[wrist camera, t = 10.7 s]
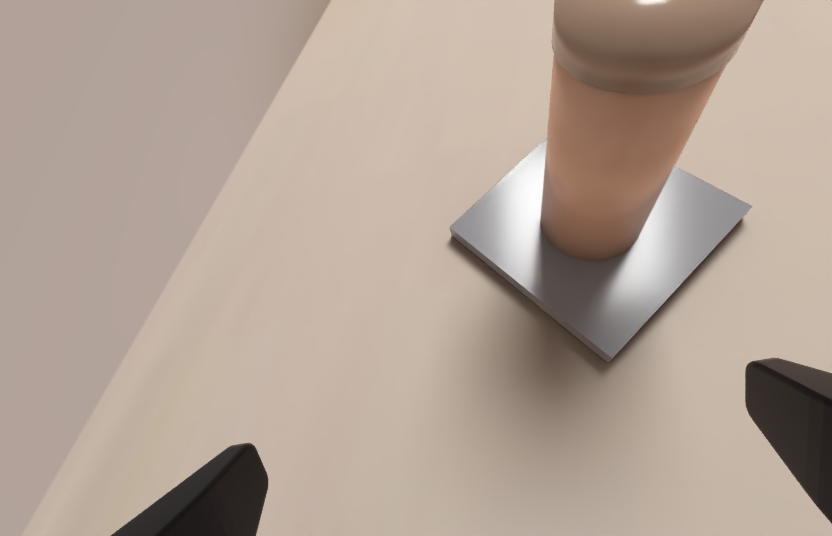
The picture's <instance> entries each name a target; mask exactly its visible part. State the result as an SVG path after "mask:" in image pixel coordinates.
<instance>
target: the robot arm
mask: <svg viewBox="0 0 832 536" xmlns="http://www.w3.org/2000/svg"><path fill="white" fill-rule="evenodd" d="M745 402H746V407H747V410H748V413H749V415H750V417H751V418H752V420H753V421H754V422H755V424H756V425H757V426H758V428H759V429H760V431H761V432H762V433H763V435H764V436H765V437H766V439H767V440H768V441H769V443H770V444H771V445H772V447H773V448H774V449H775V451H776V452H777V454H778V455H779V456H780V458H781V459H782V460H783V462H784V463H785V464H786V466H787V467H788V468H789V470H790V471H791V473H792V474H793V475H794V477H795V478H796V479H797V481H798V482H799V483H800V485H801V486H802V487H803V489H804V490H805V491H806V493H807V494H808V495H809V497H810V498H811V499H812V500H813V502H814V503H815V504H816V506H817V507H818V508H819V509H820V510H821V511H822V513H823V514H824V515H825V516H826V517H827V519H828V520H829V521H830V522H831V523H832V373H829V372H825V371H822V370H818V369H815V368H811V367H808V366H804V365H801V364H797V363H794V362H790V361H787V360H783V359H779V358H770V359H763V360H757V361H752V362H750V363H749V364H748V365H747V367H746V371H745ZM267 490H268V476H267V473H266V470H265V468H264V466H263V463H262V461H261V459H260V457H259V454H258V452H257V450H256V448H255V446H254V445H253V444H251V443H244V444H238V445H232V446H230V447H228V448H227V449H225V450H224V451H223V452H221V453H220V454H219V455H217V456H216V457H215V458H213V459H212V460H211V461H209V462H208V463H207V464H205V465H204V466H203V467H201V468H200V469H199V470H197V471H196V472H195V473H193V474H192V475H191V476H190V477H188V478H187V479H186V480H184V481H183V482H182V483H180V484H179V485H178V486H176V487H175V488H174V489H172V490H171V491H170V492H168V493H167V494H166V495H164V496H163V497H162V498H160V499H159V500H158V501H156V502H155V503H154V504H152V505H151V506H150V507H148V508H147V509H146V510H144V511H143V512H142V513H140V514H139V515H138V516H136V517H135V518H134V519H132V520H131V521H130V522H128V523H127V524H126V525H124V526H123V527H122V528H120V529H119V530H118V531H116V532H115V533H114V534H112V535H111V536H256V533H257V529H258V525H259V521H260V517H261V514H262V510H263V506H264V502H265V498H266V494H267Z"/></svg>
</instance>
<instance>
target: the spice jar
mask: <svg viewBox="0 0 832 536" xmlns="http://www.w3.org/2000/svg"><path fill="white" fill-rule="evenodd" d="M763 1H764V0H555V3H554V17H553V30H552V48H553V52H554V57H553V70H552V82H551V94H550V107H549V119H548V131H547V144H546V156H545V168H544V181H543V193H542V205H541V226H542V230H543V232H544V234H545V236H546V238H547V239H548V241H549V242H550V243H551V244H552V245H553V246H554V247H555V248H557V249H558V250H559V251H561V252H563V253H564V254H566V255H569V256H571V257H574V258H577V259H582V260H591V261H592V260H604V259H609V258H612V257H615V256H618V255H620V254H621V253H623V252H625V251H626V250H628V249H629V248H630V247H631V246H632V245H633V244H634V243H635V242H636V240H637V239H638V237H639V235H640V233H641V231H642V229H643V227H644V225H645V223H646V221H647V219H648V217H649V215H650V213H651V211H652V210H653V208H654V206H655V204H656V202H657V200H658V198H659V196H660V194H661V192H662V190H663V188H664V186H665V184H666V182H667V180H668V178H669V176H670V174H671V172H672V170H673V168H674V166H675V164H676V162H677V160H678V158H679V156H680V154H681V153H682V151H683V149H684V147H685V145H686V143H687V141H688V139H689V137H690V135H691V133H692V131H693V129H694V127H695V125H696V123H697V121H698V119H699V117H700V115H701V113H702V111H703V109H704V107H705V105H706V103H707V101H708V99H709V97H710V96H711V94H712V92H713V90H714V88H715V86H716V84H717V82H718V80H719V78H720V76H721V74H722V72H723V70H724V68H725V66H726V64H727V63H728V62H729V61H730V60H731V59H732V58H733V56H734V55H735V54H736V52H737V50H738V49H739V47H740V45H741V43H742V41H743V39H744V37H745V35H746V33H747V31H748V29H749V28H750V26H751V24H752V22H753V20H754V18H755V16H756V14H757V12H758V10H759V8H760V6H761V4H762V2H763Z"/></svg>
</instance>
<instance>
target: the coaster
mask: <svg viewBox="0 0 832 536" xmlns="http://www.w3.org/2000/svg"><path fill="white" fill-rule="evenodd" d="M546 144H547V138H546V139H545V140H544V141H543V142H542V143H540V144H539V145H538V146H537V147H536V148H535V149H534V150H533V151H532V152H531V153H530V154H528V155H527V156H526V157H525V158H524V159H523V160H522V161H521V162H520V163H519V164H518V165H517V166H515V167H514V168H513V169H512V170H511V171H510V172H509V173H508V174H507V175H506V176H505V177H503V178H502V179H501V180H500V181H499V182H498V183H497V184H496V185H495V186H494V187H493V188H491V189H490V190H489V191H488V192H487V193H486V194H485V195H484V196H483V197H482V198H481V199H479V200H478V201H477V202H476V203H475V204H474V205H473V206H472V207H471V208H470V209H469V210H468V211H466V212H465V213H464V214H463V215H462V216H461V217H460V218H459V219H458V220H457V221H456V222H454V223H453V224H452V225H451V226H450V231H451V235H452V236H453V237H454V238H455V239H457V240H458V241H459V242H460V243H461V244H463V245H464V246H465V247H466V248H468V249H469V250H470V251H471V252H472V253H474V254H475V255H476V256H477V257H479V258H480V259H481V260H482V261H483V262H485V263H486V264H487V265H488V266H490V267H491V268H492V269H493V270H495V271H496V272H497V273H498V274H499V275H501V276H502V277H503V278H504V279H506V280H507V281H508V282H509V283H510V284H512V285H513V286H514V287H515V288H517V289H518V290H519V291H520V292H521V293H523V294H524V295H525V296H526V297H528V298H529V299H530V300H531V301H532V302H534V303H535V304H536V305H537V306H539V307H540V308H541V309H542V310H543V311H545V312H546V313H547V314H548V315H550V316H551V317H552V318H553V319H554V320H556V321H557V322H558V323H559V324H561V325H562V326H563V327H564V328H565V329H567V330H568V331H569V332H570V333H572V334H573V335H574V336H575V337H576V338H578V339H579V340H580V341H581V342H583V343H584V344H585V345H586V346H588V347H589V348H590V349H591V350H592V351H594V352H595V353H596V354H597V355H599V356H600V357H601V358H602V359H603V360H605V361H606V362H607V363H609V362H610V361H611V359H612V358H613V357H614V356H615V355H616V354H617V353H618V352H619V351H620V350H621V349H622V348H623V346H624V345H625V344H626V343H627V342H628V341H629V340H630V339H631V338H632V337H633V336H634V335H635V333H636V332H637V331H638V330H639V329H640V328H641V327H642V326H643V325H644V324H645V323H646V322H647V320H648V319H649V318H650V317H651V316H652V315H653V314H654V313H655V312H656V311H657V310H658V309H659V307H660V306H661V305H662V304H663V303H664V302H665V301H666V300H667V299H668V298H669V297H670V296H671V294H672V293H673V292H674V291H675V290H676V289H677V288H678V287H679V286H680V285H681V284H682V283H683V281H684V280H685V279H686V278H687V277H688V276H689V275H690V274H691V273H692V272H693V271H694V270H695V268H696V267H697V266H698V265H699V264H700V263H701V262H702V261H703V260H704V259H705V258H706V257H707V255H708V254H709V253H710V252H711V251H712V250H713V249H714V248H715V247H716V246H717V245H718V244H719V242H720V241H721V240H722V239H723V238H724V237H725V236H726V235H727V234H728V233H729V232H730V231H731V229H732V228H733V227H734V226H735V225H736V224H737V223H738V222H739V221H740V220H741V219H742V218H743V216H744V215H745V214H746V213H747V212H748V211H749V210H750V209H751V208H752V206H751V205H749V204H747V203H745V202H743V201H741V200H739V199H737V198H736V197H734V196H732V195H730V194H728V193H726V192H724V191H722V190H720V189H718V188H716V187H714V186H713V185H711V184H709V183H707V182H705V181H703V180H701V179H699V178H697V177H695V176H693V175H692V174H690V173H688V172H686V171H684V170H682V169H680V168H678V167H676V166H674V168H673V170H672V172H671V174H670V176H669V178H668V180H667V182H666V184H665V186H664V188H663V190H662V192H661V194H660V196H659V198H658V200H657V202H656V204H655V206H654V208H653V210H652V211H651V213H650V215H649V217H648V219H647V221H646V223H645V225H644V227H643V229H642V231H641V233H640V235H639V237H638V239H637V240H636V242H635V243H634V244H633V245H632V246H631V247H630V248H629V249H628V250H626V251H625V252H623V253H621V254H620V255H618V256H615V257H612V258H609V259H604V260H592V261H591V260H582V259H577V258H574V257H571V256H569V255H566V254H564V253H563V252H561V251H559V250H558V249H557V248H555V247H554V246H553V245H552V244H551V243H550V242H549V241H548V239H547V238H546V236H545V234H544V232H543V230H542V226H541V205H542V193H543V181H544V168H545V156H546Z"/></svg>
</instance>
